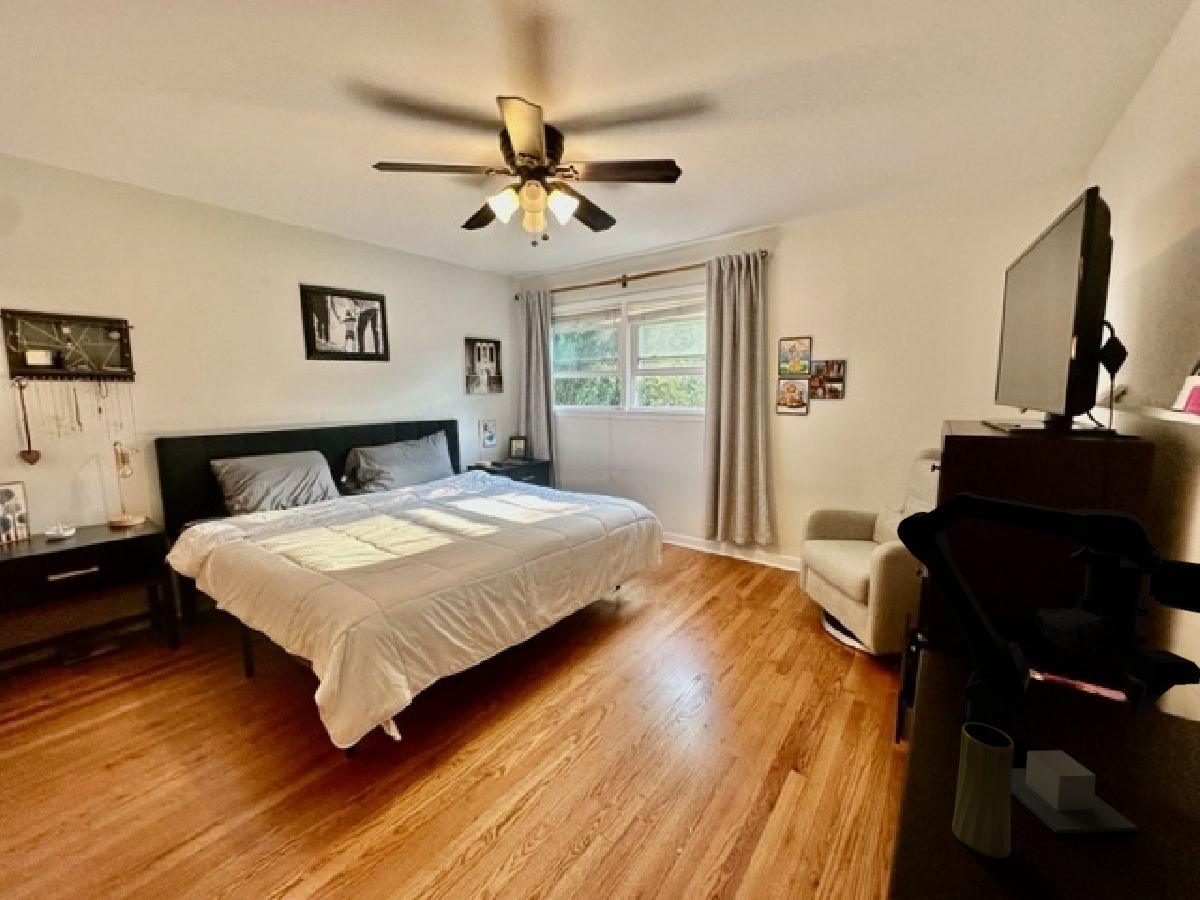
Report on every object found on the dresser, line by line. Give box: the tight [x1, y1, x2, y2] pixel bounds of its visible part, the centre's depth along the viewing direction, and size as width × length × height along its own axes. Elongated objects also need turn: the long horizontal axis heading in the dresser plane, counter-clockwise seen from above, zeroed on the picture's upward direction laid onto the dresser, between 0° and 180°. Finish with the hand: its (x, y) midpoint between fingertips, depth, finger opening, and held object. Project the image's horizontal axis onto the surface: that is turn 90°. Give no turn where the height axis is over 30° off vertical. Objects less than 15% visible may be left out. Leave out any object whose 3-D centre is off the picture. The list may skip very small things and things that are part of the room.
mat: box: [1011, 767, 1139, 834], centre depth 71 cm, size 11×11×1 cm
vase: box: [951, 722, 1015, 858], centre depth 64 cm, size 6×6×14 cm
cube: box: [1025, 749, 1097, 811], centre depth 71 cm, size 5×5×5 cm
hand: (1102, 696), depth 75 cm, fingers open, 9 cm apart
